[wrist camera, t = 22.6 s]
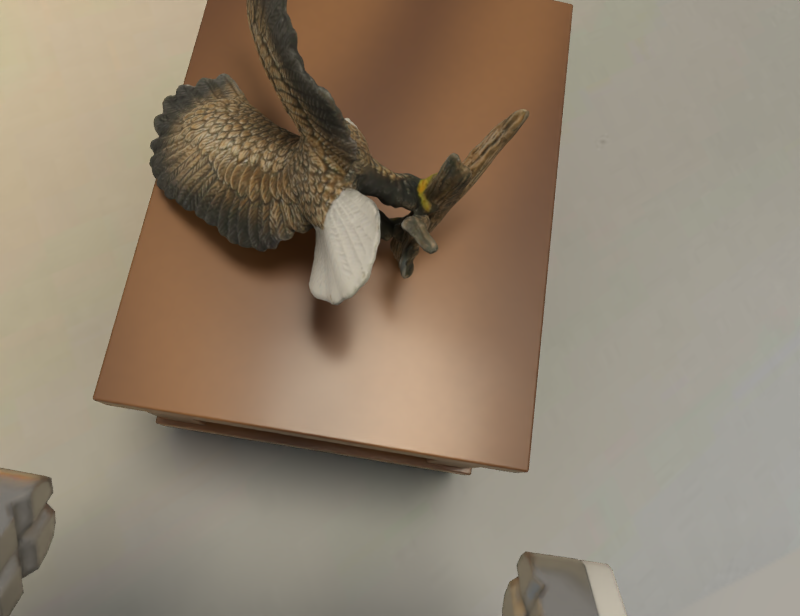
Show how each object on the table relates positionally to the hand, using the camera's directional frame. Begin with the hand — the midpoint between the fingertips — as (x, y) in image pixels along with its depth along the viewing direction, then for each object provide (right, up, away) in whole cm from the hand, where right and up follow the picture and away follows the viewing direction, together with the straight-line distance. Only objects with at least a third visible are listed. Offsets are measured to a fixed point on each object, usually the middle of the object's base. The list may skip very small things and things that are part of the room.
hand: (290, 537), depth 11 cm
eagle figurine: (-1, +8, +8) cm, 12 cm away
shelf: (0, +5, +18) cm, 19 cm away
